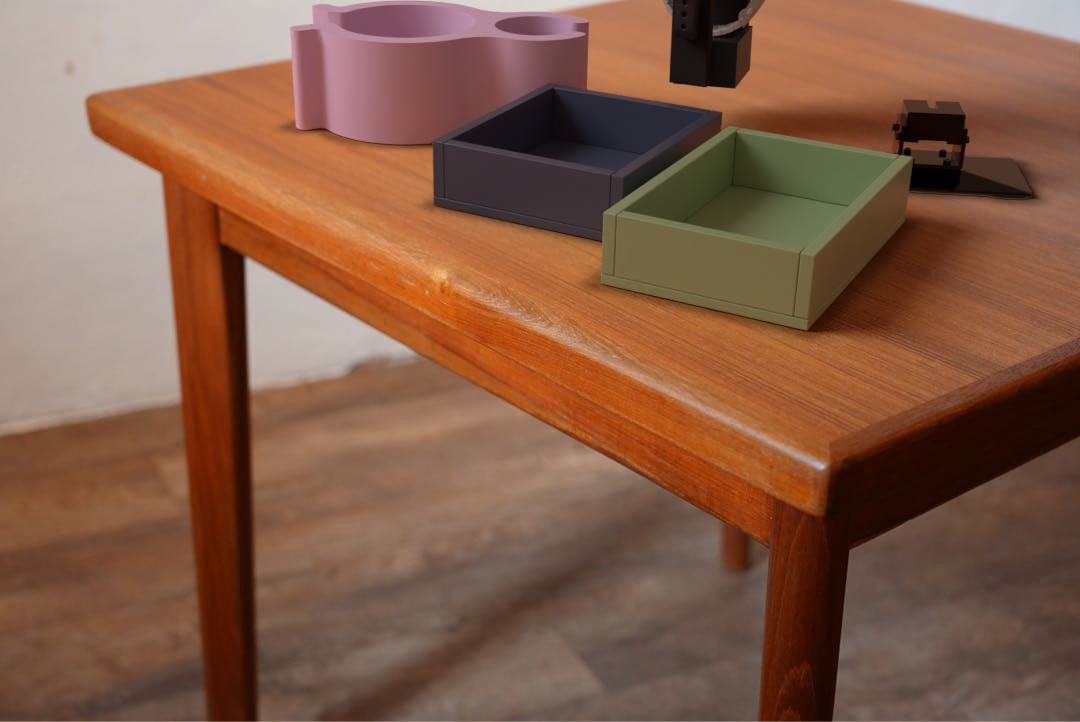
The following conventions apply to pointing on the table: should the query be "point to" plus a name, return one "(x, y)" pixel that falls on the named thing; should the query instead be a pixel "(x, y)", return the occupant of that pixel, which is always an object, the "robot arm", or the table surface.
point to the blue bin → (563, 156)
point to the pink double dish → (425, 66)
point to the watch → (730, 47)
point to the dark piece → (952, 155)
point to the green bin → (757, 225)
